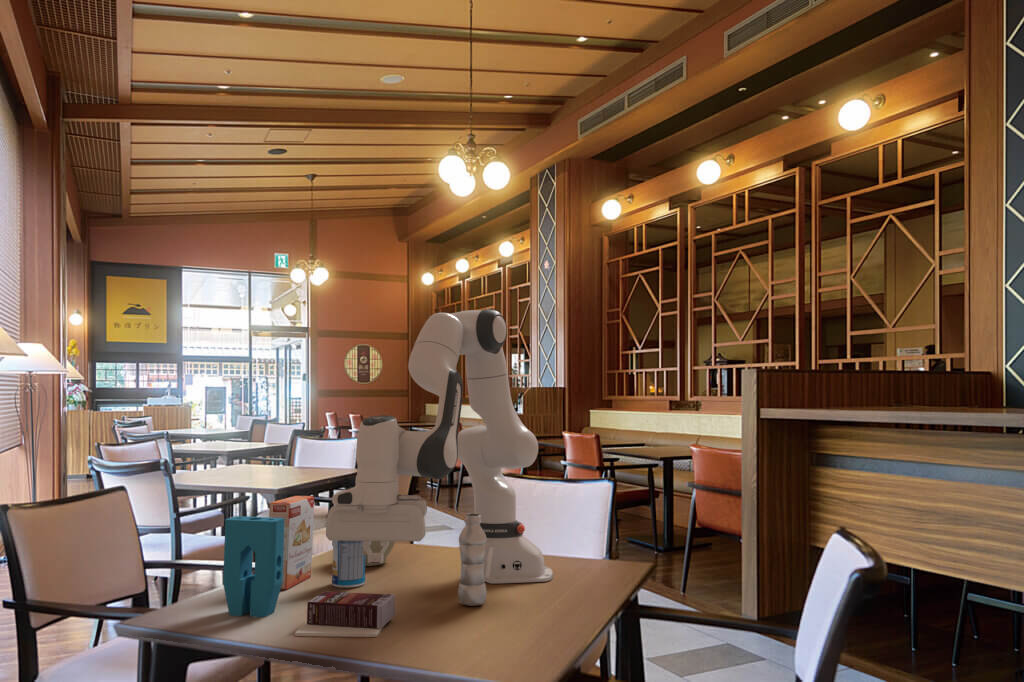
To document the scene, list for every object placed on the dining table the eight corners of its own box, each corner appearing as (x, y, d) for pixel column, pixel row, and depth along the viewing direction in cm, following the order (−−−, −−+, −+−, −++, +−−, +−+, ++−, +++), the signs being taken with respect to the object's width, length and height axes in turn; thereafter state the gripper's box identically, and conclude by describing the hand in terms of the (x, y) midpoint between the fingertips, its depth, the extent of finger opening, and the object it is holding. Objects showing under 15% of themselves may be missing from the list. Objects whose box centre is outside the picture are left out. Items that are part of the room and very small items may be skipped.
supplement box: (381, 604, 146) (306, 601, 148) (381, 629, 145) (306, 626, 148) (395, 592, 154) (324, 590, 157) (395, 616, 154) (323, 613, 156)
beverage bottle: (349, 590, 177) (351, 506, 179) (323, 586, 181) (325, 503, 183) (372, 583, 184) (374, 502, 186) (347, 578, 189) (349, 500, 190)
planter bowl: (408, 560, 211) (408, 521, 212) (375, 572, 196) (376, 530, 197) (361, 555, 217) (362, 517, 218) (327, 566, 203) (328, 526, 204)
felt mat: (389, 615, 157) (389, 612, 157) (377, 636, 143) (377, 633, 143) (315, 615, 157) (315, 612, 157) (295, 636, 143) (295, 632, 143)
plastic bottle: (465, 610, 161) (466, 518, 163) (453, 602, 167) (454, 513, 169) (491, 606, 164) (492, 516, 166) (478, 599, 170) (479, 511, 172)
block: (283, 611, 159) (286, 518, 161) (271, 618, 155) (274, 521, 156) (233, 608, 162) (236, 516, 163) (220, 614, 157) (223, 519, 158)
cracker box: (287, 590, 177) (290, 502, 178) (264, 589, 178) (267, 502, 179) (313, 577, 190) (315, 495, 192) (291, 575, 191) (294, 494, 193)
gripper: (428, 493, 155) (427, 559, 154) (332, 492, 155) (330, 558, 154) (425, 496, 149) (423, 566, 148) (324, 496, 149) (322, 565, 148)
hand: (375, 562), depth 151 cm, fingers closed
